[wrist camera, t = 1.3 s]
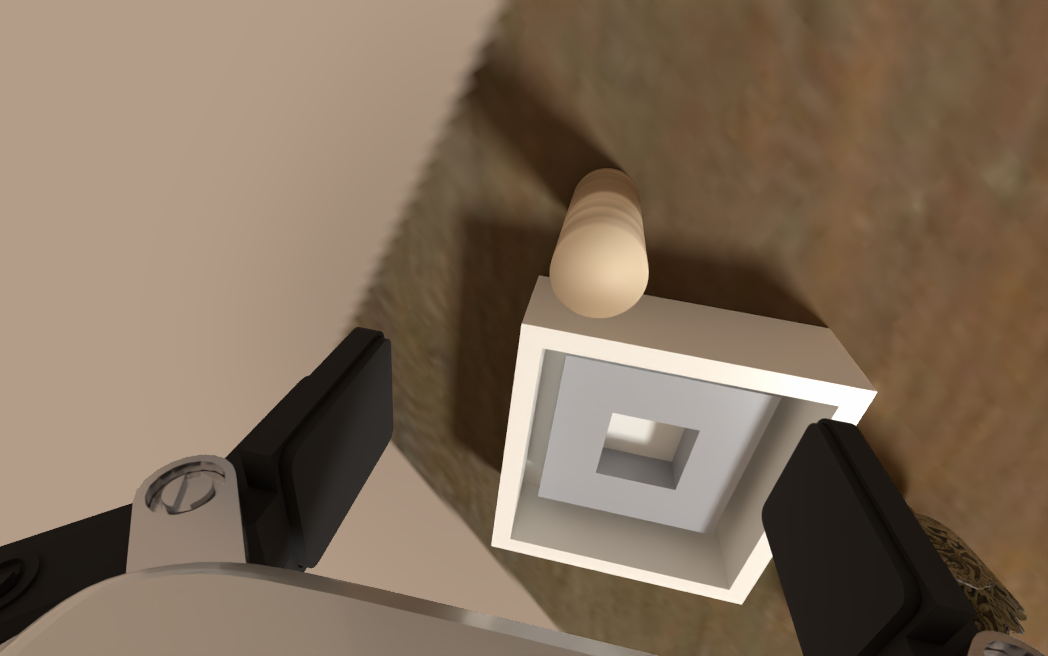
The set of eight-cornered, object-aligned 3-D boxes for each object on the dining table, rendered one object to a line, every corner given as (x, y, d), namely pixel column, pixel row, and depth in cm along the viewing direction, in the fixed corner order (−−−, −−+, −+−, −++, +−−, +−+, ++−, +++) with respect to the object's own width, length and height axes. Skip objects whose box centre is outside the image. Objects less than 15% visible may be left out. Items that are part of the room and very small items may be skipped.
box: (539, 275, 29) (521, 323, 24) (829, 328, 28) (877, 392, 22) (508, 479, 38) (491, 545, 33) (724, 527, 37) (741, 604, 32)
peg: (578, 162, 25) (557, 219, 17) (646, 173, 25) (660, 237, 17) (567, 227, 27) (543, 308, 19) (630, 238, 27) (635, 326, 18)
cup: (932, 460, 31) (1021, 577, 24) (952, 534, 33) (1037, 658, 27) (806, 487, 34) (854, 599, 27) (834, 553, 36) (884, 670, 29)
